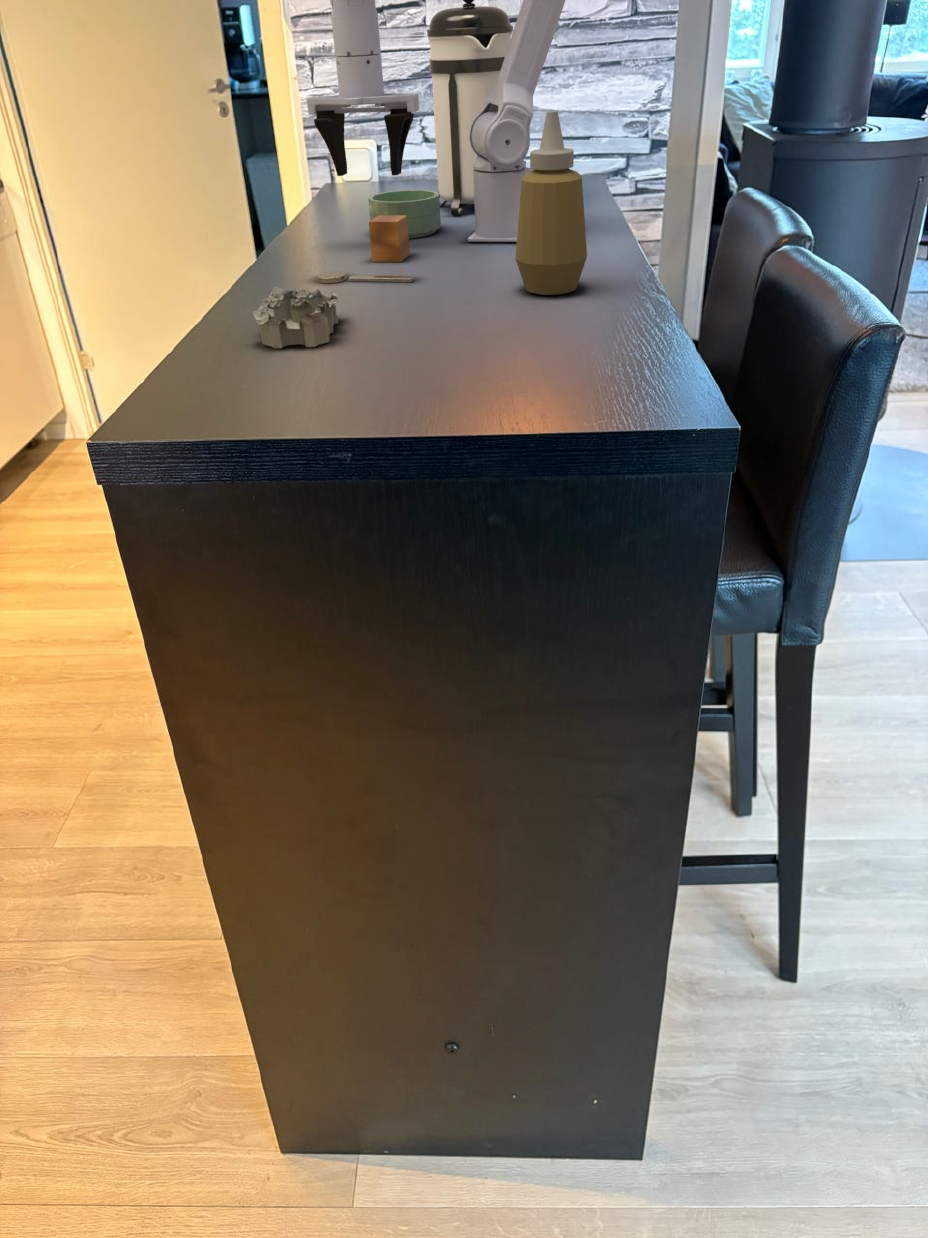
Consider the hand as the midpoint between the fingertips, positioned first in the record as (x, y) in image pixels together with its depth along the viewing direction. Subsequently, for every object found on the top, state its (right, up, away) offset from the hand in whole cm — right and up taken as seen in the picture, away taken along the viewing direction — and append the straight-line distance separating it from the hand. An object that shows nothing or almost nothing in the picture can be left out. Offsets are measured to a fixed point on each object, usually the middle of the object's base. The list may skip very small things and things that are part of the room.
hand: (369, 174), depth 124 cm
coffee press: (+14, +8, +29) cm, 33 cm away
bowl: (+4, -2, +14) cm, 15 cm away
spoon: (0, -17, -9) cm, 20 cm away
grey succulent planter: (-4, -30, -27) cm, 40 cm away
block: (+3, -11, 0) cm, 12 cm away
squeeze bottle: (+23, -22, -17) cm, 36 cm away
